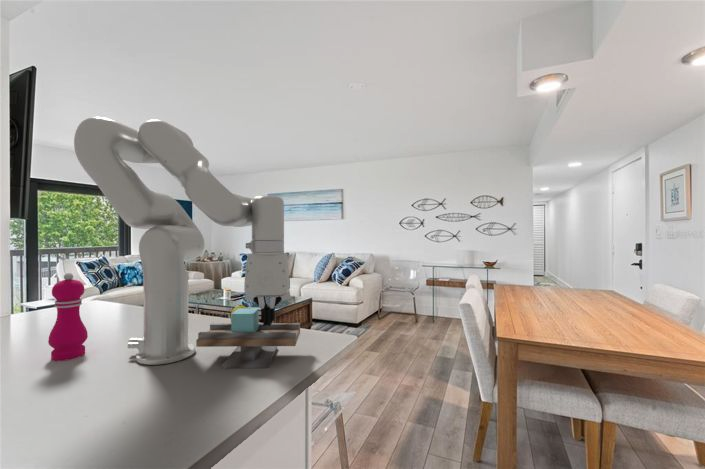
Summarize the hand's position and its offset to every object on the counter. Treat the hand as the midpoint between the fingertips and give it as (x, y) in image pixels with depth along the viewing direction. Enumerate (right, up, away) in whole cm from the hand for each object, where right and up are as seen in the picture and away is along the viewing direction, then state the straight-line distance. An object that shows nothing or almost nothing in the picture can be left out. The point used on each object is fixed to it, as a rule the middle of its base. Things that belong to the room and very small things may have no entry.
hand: (268, 323), depth 81 cm
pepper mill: (-48, -8, 0) cm, 49 cm away
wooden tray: (-4, -8, 0) cm, 9 cm away
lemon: (-14, -8, +22) cm, 27 cm away
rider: (-5, -2, 0) cm, 6 cm away
